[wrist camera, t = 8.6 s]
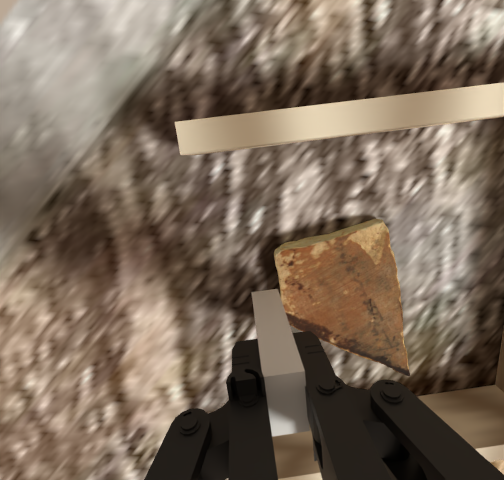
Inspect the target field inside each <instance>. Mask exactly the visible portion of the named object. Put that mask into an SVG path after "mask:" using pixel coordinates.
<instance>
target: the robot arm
mask: <svg viewBox="0 0 504 480" xmlns="http://www.w3.org/2000/svg"><path fill="white" fill-rule="evenodd" d="M251 293H252V300H253V308H254V316H255V323H256V331H257V339H253V340H246V341H239V342H236V344H235V346H234V347H233V349H232V373H231V374H230V375H229V376H228V378H227V382H226V384H227V390H228V396H229V400H228V402H227V403H226V404H225V405H224V406H223V407H221V408H220V409H218V410H216V411H214V412H212V413H209V414H207V413H206V412H205V411H204V410H201V409H197V408H196V409H189V410H187V411H184V412H182V413H181V414H180V415H178V416H177V417H176V418H175V420H174V421H173V422H172V424H171V426H170V428H169V430H168V432H167V434H166V436H165V438H164V440H163V442H162V444H161V446H160V448H159V450H158V453H157V455H156V457H155V459H154V461H153V463H152V465H151V467H150V469H149V471H148V473H147V475H146V477H145V479H144V480H225V479H227V478H229V480H278V475H277V468H276V461H275V453H274V446H273V439H272V437H273V436H280V435H287V434H293V433H300V432H307V431H310V428H311V432H312V437H313V450H314V461H318V465H319V469H320V472H321V476H322V480H504V475H503V474H502V473H501V472H500V471H499V470H498V469H497V468H495V467H494V466H493V465H492V464H491V463H490V462H489V461H488V460H487V459H485V458H484V457H483V456H482V455H481V454H480V453H479V452H478V451H477V450H475V449H474V448H473V447H472V446H471V445H470V444H469V443H468V442H467V441H465V440H464V439H463V438H462V437H461V436H460V435H459V434H458V433H457V432H455V431H454V430H453V429H452V428H451V427H450V426H449V425H448V424H447V423H445V422H444V421H443V420H442V419H441V418H440V417H439V416H438V415H437V414H436V413H434V412H433V411H432V410H431V409H430V408H429V407H428V406H427V405H426V404H424V403H423V402H422V401H421V400H420V399H419V398H418V397H417V396H416V395H414V394H413V393H412V392H411V391H410V390H409V389H408V388H406V387H405V386H403V385H402V384H400V383H398V382H395V381H391V380H381V381H377V382H376V383H374V384H373V385H372V387H371V389H370V390H365V389H357V388H352V387H350V386H347V385H345V384H344V382H343V381H342V380H341V379H340V378H338V377H337V376H336V375H335V373H334V370H333V368H332V366H331V364H330V362H329V360H328V358H327V356H326V353H325V352H324V349H323V347H322V346H321V343H320V341H319V338H318V337H317V336H316V335H315V334H314V333H312V332H311V331H305V332H298V333H292V331H291V328H290V325H289V322H288V319H287V316H286V313H285V310H284V307H283V304H282V301H281V298H280V295H279V292H278V289H271V290H264V291H257V292H251ZM309 424H310V428H309Z"/></svg>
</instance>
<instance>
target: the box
mask: <svg viewBox="0 0 504 480" xmlns="http://www.w3.org/2000/svg"><path fill="white" fill-rule="evenodd" d="M501 117H504V83H495V84H487V85H479V86H470V87H462V88H454V89H445V90H437V91H428V92H420V93H412V94H403V95H395V96H387V97H378V98H370V99H362V100H353V101H345V102H337V103H328V104H320V105H312V106H303V107H295V108H287V109H278V110H270V111H262V112H253V113H245V114H237V115H228V116H220V117H212V118H203V119H195V120H187V121H178V122H175V127H176V132H177V138H178V144H179V149H180V155H200V154H208V153H216V152H225V151H233V150H241V149H249V148H257V147H265V146H273V145H281V144H290V143H298V142H306V141H314V140H322V139H330V138H338V137H346V136H355V135H363V134H371V133H379V132H387V131H395V130H403V129H411V128H420V127H428V126H436V125H444V124H452V123H460V122H468V121H476V120H485V119H493V118H501ZM417 397H418V398H419V399H420V400H421V401H422V402H423V403H424V404H426V405H427V406H428V407H429V408H430V409H431V410H432V411H433V412H434V413H436V414H437V415H438V416H439V417H440V418H441V419H442V420H443V421H444V422H445V423H447V424H448V425H449V426H450V427H451V428H452V429H453V430H454V431H455V432H457V433H458V434H459V435H460V436H461V437H462V438H463V439H464V440H465V441H467V442H468V443H469V444H470V445H471V446H472V447H473V448H474V449H475V450H477V451H478V452H479V453H480V454H481V455H482V456H483V457H484V458H485V459H487V460H488V461H489V462H491V461H498V460H504V327H503V334H502V341H501V348H500V355H499V361H498V368H497V375H496V382H495V385H490V386H484V387H477V388H470V389H463V390H456V391H450V392H443V393H436V394H429V395H422V396H417ZM309 428H310V424H309ZM272 439H273V446H274V453H275V461H276V468H277V475H278V480H322V476H321V472H320V469H319V465H318V461H314V450H313V437H312V432H311V428H310V431H307V432H300V433H293V434H287V435H280V436H273V437H272Z"/></svg>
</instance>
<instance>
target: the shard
mask: <svg viewBox="0 0 504 480" xmlns="http://www.w3.org/2000/svg"><path fill="white" fill-rule="evenodd" d="M274 259H275V265H276V268H277V272H278V279H279V285H280V294H279V295H280V298H281V301H282V304H283V307H284V310H285V313H286V316H287V319H288V322H289V325H291V326H293V327H294V328H296V329H298V330H301V331H303V332H305V331H311V332H312V333H314V334H315V335H316V336H317V337H318V338H319V339H321V340H324V341H326V342H329V343H330V344H332V345H334V346H336V347H338V348H340V349H343V350H346V351H348V352H350V353H353V354H355V355H358V356H360V357H363V358H366V359H369V360H372V361H375V362H379V363H381V364H384V365H386V366H388V367H390V368H392V369H393V370H395V371H396V372H399V373H402V374H405V375H407V376H410V373H409V367H408V359H407V352H406V348H405V345H404V338H403V324H402V322H403V316H402V315H403V312H402V306H401V300H400V285H399V281H398V279H397V267H396V263H395V258H394V253H393V251H392V250H391V248H390V239H389V231H388V228H387V227H386V225H385V224H384V223H383V220H380V219H373V220H370V221H366V222H364V223H361V224H357V225H354V226H350V227H347V228H344V229H341V230H338V231H336V232H332V233H329V234H325V235H319V236H313V237H307V238H304V239H300V240H298V241H291V242H286V243H284V244H281V246H280V247H278V248H277V249H275V251H274Z"/></svg>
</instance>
